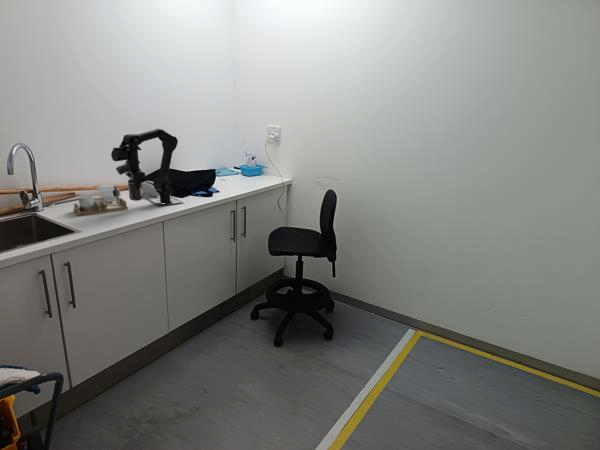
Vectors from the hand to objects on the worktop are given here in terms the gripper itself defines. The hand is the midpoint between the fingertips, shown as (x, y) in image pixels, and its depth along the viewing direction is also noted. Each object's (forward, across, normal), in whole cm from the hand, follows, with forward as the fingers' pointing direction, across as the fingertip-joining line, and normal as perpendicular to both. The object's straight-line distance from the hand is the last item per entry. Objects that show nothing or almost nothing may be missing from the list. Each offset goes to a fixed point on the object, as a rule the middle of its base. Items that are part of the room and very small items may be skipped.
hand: (135, 187), depth 218 cm
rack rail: (+12, -9, -16) cm, 22 cm away
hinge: (+13, -28, +18) cm, 36 cm away
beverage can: (+7, 0, 0) cm, 7 cm away
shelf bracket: (+13, -25, -8) cm, 29 cm away
